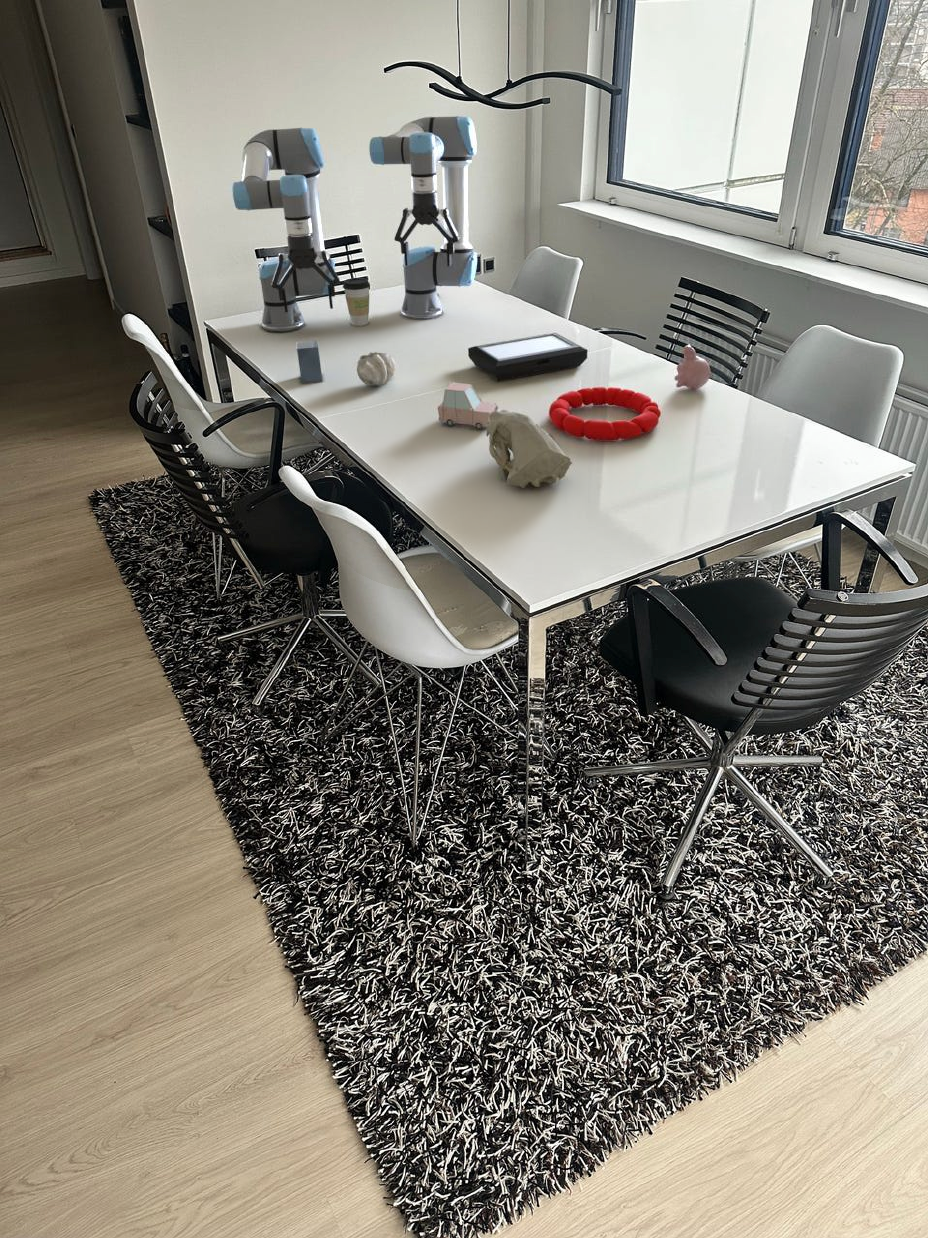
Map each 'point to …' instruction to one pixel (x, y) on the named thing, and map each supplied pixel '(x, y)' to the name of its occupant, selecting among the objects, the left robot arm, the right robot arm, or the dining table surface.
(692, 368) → the figurine
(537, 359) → the electronic device
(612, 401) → the decorative ring
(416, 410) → the dining table surface
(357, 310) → the coffee cup
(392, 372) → the seashell
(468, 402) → the toy car
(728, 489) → the dining table surface
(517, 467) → the animal skull
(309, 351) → the block
